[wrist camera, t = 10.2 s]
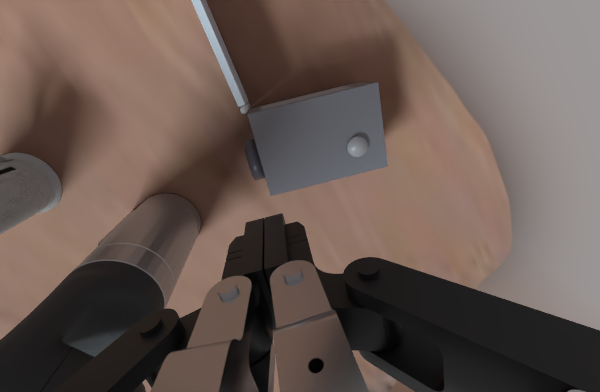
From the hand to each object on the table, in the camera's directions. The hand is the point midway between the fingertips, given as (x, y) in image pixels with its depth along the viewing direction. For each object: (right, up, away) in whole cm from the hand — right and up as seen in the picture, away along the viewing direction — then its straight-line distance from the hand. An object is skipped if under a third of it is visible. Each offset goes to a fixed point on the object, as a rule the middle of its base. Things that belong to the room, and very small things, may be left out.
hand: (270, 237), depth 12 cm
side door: (-9, +20, +24) cm, 33 cm away
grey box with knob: (+3, +11, +30) cm, 32 cm away
